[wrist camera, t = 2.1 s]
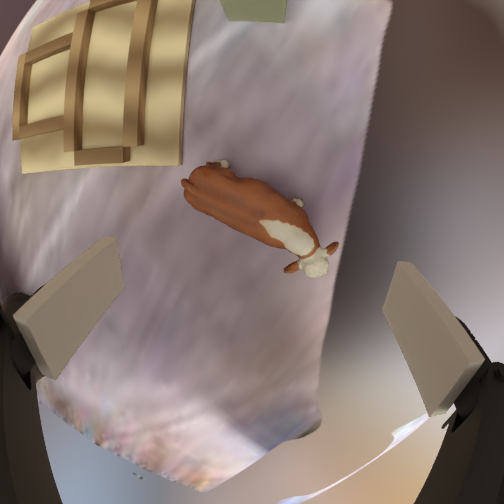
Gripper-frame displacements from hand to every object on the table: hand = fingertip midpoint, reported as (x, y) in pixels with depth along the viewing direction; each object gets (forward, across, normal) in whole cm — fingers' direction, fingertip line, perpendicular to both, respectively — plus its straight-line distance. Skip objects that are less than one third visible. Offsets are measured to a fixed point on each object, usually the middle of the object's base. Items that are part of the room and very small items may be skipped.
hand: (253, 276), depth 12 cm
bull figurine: (+15, 0, 0) cm, 15 cm away
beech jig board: (+15, +19, -13) cm, 27 cm away
